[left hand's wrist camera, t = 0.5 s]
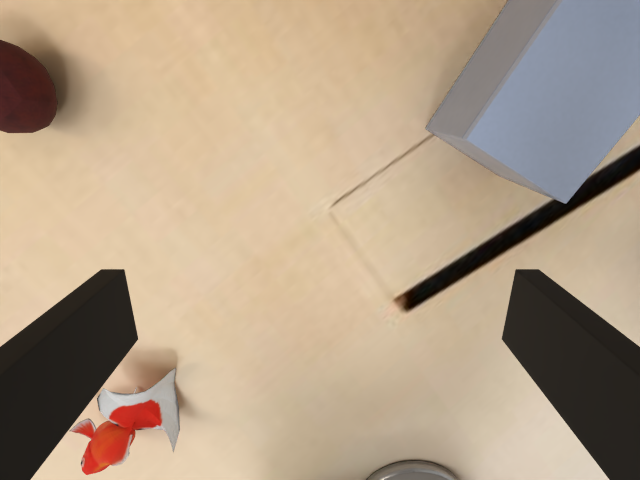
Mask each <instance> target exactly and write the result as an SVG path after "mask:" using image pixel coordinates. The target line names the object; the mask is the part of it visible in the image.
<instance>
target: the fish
mask: <svg viewBox="0 0 640 480" xmlns="http://www.w3.org/2000/svg"><path fill="white" fill-rule="evenodd" d="M175 373H176V368H174V369H173V370H171V371H170V372H169V373H168V374H167V375H166V376H165V377H164V378H163V379H162V380H161V381H159V382H158V383H157V384H155V385H154V386H152V387H151V388H149V389H148V390H146V391H145V392H141V393H136V394H135V392H136V388H137V387H136V388H135V391H134V393H133V394H121V393H115V392H110V391H108V390H106V389H104V388H103V390H102V391H101V393H100V395H99V396H98V398H97V401H98V406H99V410H100V412H101V413H102V414H103V416H104V417H106V418H107V419H108V420H109V421H106V422H104V423H103V424H101V425H100V426H99V427H98V428H97V429H96V427H95V425H94V424H93V422H92V421H91V420H90V419H86V420H84V421H81V422H79V423H78V424H77V425H76V426H75V427H74V428H72V429H71V430H70V431H72V432H75V433H80V434H83V435H86V436H87V437H89V438H91V439H92V440H91V441H90V442H89V443H88V446H87V448H86V451H85V453H84V455H83V458H82V461H81V466H82V471H83V472H84V473H85V474H86V475H88V474H93V473H97V472H100V471H102V470H104V469H106V468H107V467H108V466H109V465H112V466H116V465H120V464H122V463H123V462H124V461H125V460H126V459H127V457H128V456H129V447H130V445H131V444H132V442H133V440H134V438H135V430H142V429H149V428H154V429H161V430H164V431H165V432H166V433H167V435H168V437H169V439H170V442H171V445H172V448H173V452H174V449H175V445H176V441H177V438H178V434H179V430H180V425H179V406H178V401H177V395H176V389H175V383H174V380H175Z"/></svg>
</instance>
